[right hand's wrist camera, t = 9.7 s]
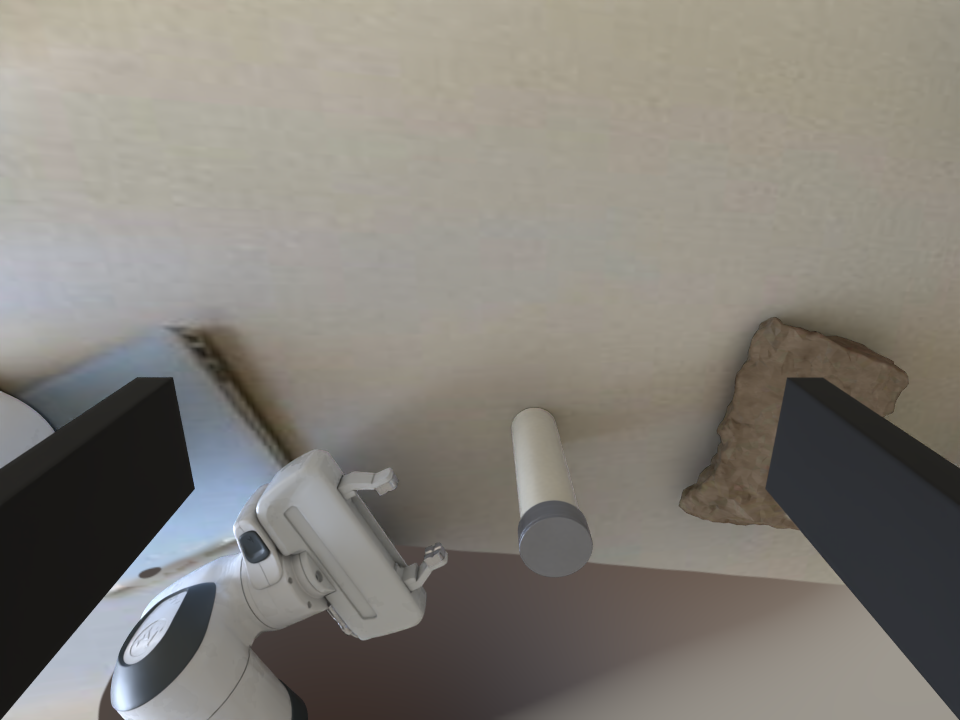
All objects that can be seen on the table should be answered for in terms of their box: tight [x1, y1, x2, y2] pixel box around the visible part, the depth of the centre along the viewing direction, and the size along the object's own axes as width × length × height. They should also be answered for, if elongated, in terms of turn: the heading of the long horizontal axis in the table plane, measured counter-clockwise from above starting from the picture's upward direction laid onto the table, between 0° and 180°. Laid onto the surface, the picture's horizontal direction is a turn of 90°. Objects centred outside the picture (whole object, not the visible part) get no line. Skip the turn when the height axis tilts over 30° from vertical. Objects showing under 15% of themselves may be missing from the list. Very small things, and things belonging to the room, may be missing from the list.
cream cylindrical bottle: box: [511, 408, 579, 520], centre depth 50 cm, size 5×5×18 cm
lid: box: [518, 500, 593, 577], centre depth 42 cm, size 5×5×2 cm
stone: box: [679, 317, 908, 530], centre depth 55 cm, size 21×15×6 cm
